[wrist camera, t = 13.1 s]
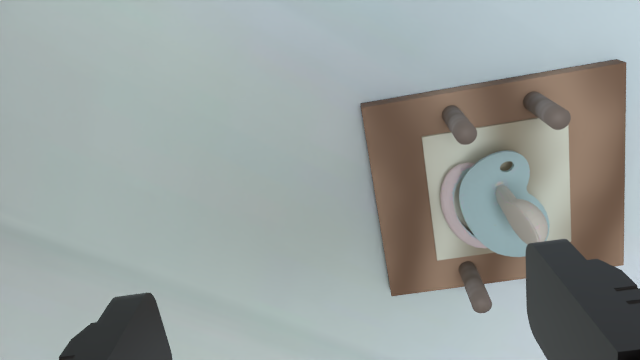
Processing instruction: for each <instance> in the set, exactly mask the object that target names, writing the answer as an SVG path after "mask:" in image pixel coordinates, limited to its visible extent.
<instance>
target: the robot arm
mask: <svg viewBox="0 0 640 360" xmlns="http://www.w3.org/2000/svg"><path fill="white" fill-rule="evenodd" d="M525 257H526V297H527V314H528V319H529V324H530V327H531V330H532V333H533V335H534V337H535V339H536V341H537V343H538V344H539V346H540V348H541V349H542V351H543V353H544V355H545V356H546V358H547V360H640V289H638V288H637V285H636V284H635V283H634V282H633V281H632V280H631V279H630V278H629V277H628V276H627V275H626V274H625V273H624V272H623V271H622V270H620V269H618V268H616V267H614V266H612V265H610V264H608V263H606V262H603V261H601V260H599V259H591V260H586V259H585V257H584V256H583V255H582V254H581V253H580V252H579V251H578V250H577V249H576V248H575V247H574V246H573V245H572V244H571V243H570V242H569V241H568V240H567V239H558V240H551V241H543V242H535V243H529V244H528V245H527V247H526V255H525ZM59 360H172V354H171V350H170V346H169V343H168V340H167V336H166V333H165V330H164V326H163V323H162V320H161V316H160V313H159V310H158V306H157V303H156V300H155V298H154V296H153V295H152V294H151V293H142V294H134V295H127V296H119V297H115V298H113V299H112V300H111V302H110V303H109V305H108V306H107V308H106V309H105V311H104V312H103V314H102V315H101V317H100V318H99V320H98V321H97V322H96V323H91V324H90V325H88V326H87V327H86V328H85V329H84V330H82V331H81V332H80V333H79V334H77V335H76V336H75V337H74V338H73V339H71V341H70V342H69V344H68V345H67V346H66V348H65V349H64V351H63V352H62V354H61V355H60V356H59Z"/></svg>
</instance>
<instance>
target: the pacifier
mask: <svg viewBox="0 0 640 360" xmlns="http://www.w3.org/2000/svg"><path fill="white" fill-rule="evenodd" d="M507 161H511V162H512V163H513V165H512V167H511V168H510V169H509V170H506V171H502V170H500V166H501V164H503V163H504V162H507ZM529 177H530V168H529V164H528V162H527V160H526V159H525V158H524V157H523V156H522V155H521V154H519V153H517V152H515V151H508V150H505V151H499V152H495V153H492V154H490V155H488V156H486V157H484V158H482V159H480V160H479V161H478V162H476V163H469V162H467V163H462V164H458V165H457V166H455V167H454V168H452V169H451V170H450V171H449V172H448V173H447V175H446V176H445V178H444V180H443V183H442V186H441V193H440V201H441V209H442V212H443V215H444V218H445V220H446V222H447V224H448V225H449V227H450V229H451V230H452V231H453V232H454V233H455V235H456V236H457V237H458V238H459V239H461V240H462V241H463V242H465V243H466V244H468V245H471V246H473V247H476V248H489V249H490V250H491V251H493V252H496V253H497V254H501V255H504V256H510V257H524V256H525V255H526V247H527V245H528V244H529V243H535V242H543V241H546V240H547V238H548V235H549V228H550V224H549V219H548V215H547V212H546V210H545V209H544V207H543V205H542V204H541V203H540V202H539V201H538V200H537V199H536V198H535V197H534V196H532V195H531V194H529V193H528V192H527V185H528V182H529ZM461 180H462V181H461ZM460 181H461V184H460V188H459V201H460V207H461V211H462V214H463V217H464V219H465V221H466V223H467V225H468V227H469V228H470V230H469V229H468V228H467V227H466V226H465V225H464V224H463V223H462V222H461V221H460V219H459V217H458V216H457V213H456V210H455V206H454V192H455V189H456V187H457V185H458V183H459V182H460Z"/></svg>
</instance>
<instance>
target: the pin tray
mask: <svg viewBox="0 0 640 360" xmlns="http://www.w3.org/2000/svg"><path fill="white" fill-rule="evenodd" d="M361 111H362V117H363V123H364V129H365V135H366V141H367V148H368V154H369V160H370V166H371V172H372V178H373V185H374V191H375V197H376V203H377V209H378V215H379V222H380V228H381V234H382V240H383V246H384V252H385V259H386V265H387V271H388V277H389V283H390V289H391V296H397V295H404V294H412V293H419V292H427V291H434V290H442V289H449V288H457V287H464V286H465V289H466V291H467V294H468V297H469V299H470V302H471V304H472V307H473V309H474V310H475V311H476V312H478V313H485V312H487V311H489V310H490V309H491V307H492V302H491V300H490V297H489V295H488V293H487V291H486V288H485V286H484V284H487V283H494V282H501V281H509V280H516V279H524V278H526V257H525V256H524V257H510V256H504V255H501V254H497V253H496V252H493V251H491V250H490V249H489V248H476V247H473V246H471V245H468V244H466V243H465V242H463V241H462V240H461V239H459V238H458V237H457V236H456V235H455V233H454V232H453V231H452V230H451V229H450V227H449V225H448V224H447V222H446V220H445V218H444V215H443V212H442V209H441V201H440V193H441V186H442V183H443V180H444V178H445V176H446V175H447V173H448V172H449V171H450V170H451V169H452V168H454V167H455V166H457V165H458V164H462V163H467V162H469V163H476V162H478V161H479V160H480V159H482V158H484V157H486V156H488V155H490V154H492V153H495V152H499V151H505V150H508V151H515V152H517V153H519V154H521V155H522V156H523V157H524V158H525V159H526V160H527V162H528V164H529V168H530V177H529V182H528V185H527V192H528V193H529V194H531V195H532V196H534V197H535V198H536V199H537V200H538V201H539V202H540V203H541V204H542V205H543V207H544V209H545V210H546V212H547V215H548V219H549V224H550V228H549V235H548V238H547V240H546V241H551V240H558V239H567V240H568V241H569V242H570V243H571V244H572V245H573V246H574V247H575V248H576V249H577V250H578V251H579V252H580V253H581V254H582V255H583V256H584V257H585V259H586V260H591V259H599V260H601V261H603V262H606V263H608V264H610V265H612V266H621V265H623V261H624V187H625V112H626V62H623V61H620V60H617V59H616V60H611V61H605V62H599V63H593V64H587V65H581V66H576V67H570V68H564V69H558V70H552V71H547V72H541V73H535V74H529V75H523V76H518V77H512V78H506V79H500V80H494V81H489V82H483V83H477V84H471V85H465V86H460V87H454V88H448V89H442V90H436V91H431V92H425V93H419V94H413V95H407V96H402V97H396V98H390V99H384V100H378V101H373V102H367V103H361ZM512 165H513V163H512V162H511V161H507V162H504V163H503V164H501V166H500V170H502V171H506V170H509V169H510V168H511V167H512ZM461 181H462V180H461ZM461 181H460V182H459V183H458V185H457V187H456V189H455V192H454V206H455V210H456V213H457V216H458V217H459V219H460V221H461V222H462V223H463V224H464V225H465V226H466V227H467V228H468V229H469V230H470V228H469V227H468V225H467V223H466V221H465V219H464V217H463V214H462V211H461V207H460V201H459V188H460V184H461Z"/></svg>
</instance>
